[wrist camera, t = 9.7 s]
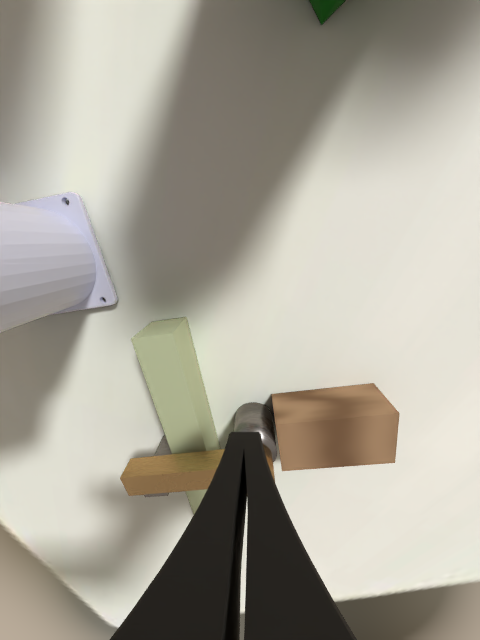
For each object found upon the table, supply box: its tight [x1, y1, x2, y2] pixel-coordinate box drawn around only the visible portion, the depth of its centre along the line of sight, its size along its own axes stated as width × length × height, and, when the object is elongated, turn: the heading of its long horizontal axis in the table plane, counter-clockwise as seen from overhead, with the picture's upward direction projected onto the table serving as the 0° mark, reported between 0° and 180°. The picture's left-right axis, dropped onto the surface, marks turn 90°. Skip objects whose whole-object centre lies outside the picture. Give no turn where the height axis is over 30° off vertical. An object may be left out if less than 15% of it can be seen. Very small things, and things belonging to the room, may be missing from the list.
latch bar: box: [120, 444, 275, 496], centre depth 17 cm, size 12×3×2 cm, turn 101°
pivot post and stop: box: [144, 402, 277, 497], centre depth 19 cm, size 11×4×5 cm, turn 99°
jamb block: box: [271, 383, 399, 471], centre depth 19 cm, size 9×5×4 cm, turn 99°
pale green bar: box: [131, 317, 220, 514], centre depth 20 cm, size 3×22×3 cm, turn 9°
